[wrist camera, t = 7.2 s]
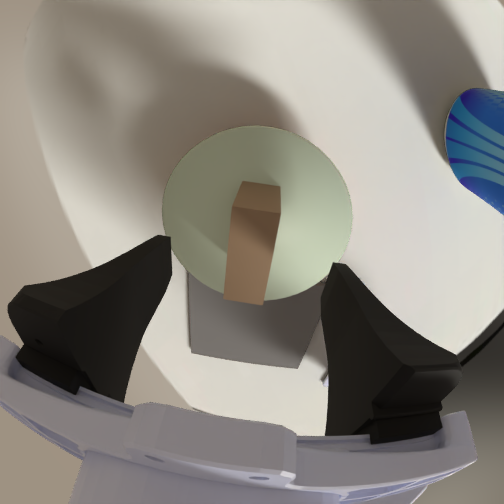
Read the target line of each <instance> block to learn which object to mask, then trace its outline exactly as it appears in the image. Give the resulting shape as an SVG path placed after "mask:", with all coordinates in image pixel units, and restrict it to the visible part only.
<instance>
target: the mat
mask: <svg viewBox="0 0 504 504" xmlns="http://www.w3.org/2000/svg"><path fill="white" fill-rule="evenodd" d="M324 286H325V283H320V282H318V283H317V284H315V285H314V286H312V287H310V288H309V289H307V290H305V291H302V292H300V293H298V294H295V295H292V296H289V297H286V298H281V299H276V300H264V302H263V305H257V304H251V303H244V302H238V301H232V300H225V299H223V296H224V294H223V293H220V292H218V291H216V290H213V289H212V288H210V287H208V286H206V285H205V284H203V283H202V282H200V281H199V280H198V279H196V278H195V277H194V276H193V275H192V274H191V273H189V314H190V337H191V353H194V354H199V355H204V356H209V357H215V358H221V359H226V360H232V361H239V362H245V363H252V364H260V365H268V366H276V367H285V368H295V369H298V367H299V365H300V363H301V361H302V358H303V356H304V354H305V352H306V349H307V347H308V345H309V342H310V340H311V338H312V335H313V333H314V331H315V328H316V326H317V323H318V321H319V318H320V316H321V298H320V297H321V295H322V292H323V289H324Z"/></svg>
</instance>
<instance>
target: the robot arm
mask: <svg viewBox="0 0 504 504" xmlns="http://www.w3.org/2000/svg"><path fill="white" fill-rule="evenodd" d="M171 276H172V258H171V237H169V236H163V235H157V236H155V237H153V238H151V239H149V240H147V241H145V242H144V243H142V244H140V245H138V246H137V247H135V248H133V249H131V250H130V251H128V252H126V253H124V254H122V255H120V256H118V257H116V258H115V259H113V260H111V261H109V262H107V263H105V264H102V265H100V266H98V267H95V268H93V269H91V270H88V271H85V272H82V273H79V274H77V275H73V276H70V277H67V278H63V279H60V280H55V281H51V282H46V283H40V284H33V285H26V286H24V287H23V288H22V289H21V290H20V291H19V292H18V294H17V295H16V296H15V297H14V298H13V300H12V301H11V302H10V303H9V304H8V314H9V318H10V319H11V322H12V324H13V326H14V327H15V329H16V331H17V333H18V334H19V336H20V338H21V340H22V341H23V343H24V345H23V347H22V348H21V349H20V348H19V347H18V346H17V345H16V344H15V343H13V342H11V341H10V340H8V339H7V338H5V337H3V336H0V406H1V407H2V408H3V409H5V410H6V411H7V412H8V413H10V414H11V415H12V416H14V417H15V418H16V419H18V420H19V421H20V422H22V423H23V424H25V425H26V426H27V427H29V428H30V429H32V430H33V431H34V432H36V433H37V434H39V435H40V436H42V437H44V438H45V439H47V440H48V441H50V442H51V443H53V444H55V445H56V446H58V447H60V448H61V449H63V450H65V451H66V452H68V453H70V454H72V455H74V456H76V457H77V458H79V459H81V460H83V462H82V465H81V467H80V470H79V473H78V476H77V479H76V482H75V485H74V488H73V491H72V495H71V497H70V501H69V504H412V503H413V502H414V501H415V500H416V499H417V498H418V497H419V496H420V495H421V494H422V493H423V492H424V491H425V490H426V488H427V485H428V484H431V483H434V482H436V481H439V480H441V479H443V478H445V477H447V476H449V475H451V474H453V473H455V472H457V471H459V470H461V469H463V468H465V467H467V466H468V465H470V464H471V463H474V462H475V461H477V459H478V457H477V452H476V448H475V445H474V440H473V436H472V433H471V429H470V425H469V422H468V418H467V415H466V412H465V411H460V412H456V413H452V414H448V415H445V416H443V417H441V418H440V415H439V411H441V410H442V404H441V401H442V400H443V399H444V398H445V397H446V396H447V395H448V394H449V393H450V392H451V391H452V390H453V389H454V388H455V387H456V386H457V385H458V383H459V381H460V380H461V378H462V375H463V370H462V368H461V365H460V363H459V360H458V358H457V356H456V354H454V353H452V352H450V351H448V350H446V349H444V348H442V347H440V346H438V345H436V344H434V343H432V342H431V341H429V340H428V339H426V338H424V337H423V336H421V335H420V334H418V333H417V332H415V331H414V330H413V329H411V328H410V327H409V326H407V325H406V324H405V323H403V322H402V321H401V320H400V319H398V318H397V317H396V316H395V315H394V314H393V313H392V312H390V311H389V310H388V309H387V308H386V307H385V306H384V305H383V304H382V303H381V302H380V301H379V300H378V299H377V298H376V297H375V296H374V295H373V294H372V292H371V291H370V290H369V289H368V288H367V287H366V286H365V285H364V284H363V282H362V281H361V280H360V279H359V278H358V277H357V276H356V275H355V273H354V272H353V271H352V270H351V269H350V268H349V267H348V266H347V265H346V264H341V263H335V262H333V263H332V266H331V269H330V272H329V275H328V278H327V281H326V283H325V286H324V289H323V292H322V295H321V297H320V298H321V320H322V326H323V332H324V339H325V345H326V351H327V359H328V375H327V377H326V378H325V380H324V381H323V386H324V387H328V408H327V422H326V431H325V436H297V434H296V433H294V432H293V431H292V430H290V429H288V428H286V427H284V426H282V425H276V424H271V423H266V422H259V421H250V420H243V419H236V418H229V417H223V416H217V415H211V414H206V413H201V412H196V411H192V410H187V409H183V408H178V407H174V406H170V405H165V404H158V403H153V402H149V403H143V404H139V405H136V406H135V407H134V406H131V405H128V404H125V403H124V399H125V394H126V390H127V386H128V381H129V378H130V374H131V370H132V367H133V364H134V361H135V358H136V354H137V351H138V349H139V346H140V343H141V340H142V337H143V335H144V333H145V330H146V328H147V326H148V324H149V322H150V320H151V319H152V317H153V315H154V313H155V311H156V309H157V307H158V305H159V304H160V302H161V300H162V298H163V296H164V294H165V292H166V290H167V287H168V284H169V282H170V279H171Z"/></svg>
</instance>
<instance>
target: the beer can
mask: <svg viewBox="0 0 504 504" xmlns="http://www.w3.org/2000/svg"><path fill="white" fill-rule="evenodd" d="M444 140H445V147H446V152H447V157H448V160H449V164H450V166H451V169H452V171H453V173H454V175H455V176H456V178H457V179H458V181H459V182H460V183H461V184H462V185H463V186H464V187H466V188H467V189H468V190H470V191H471V192H473V193H474V194H476V195H477V196H479V197H480V198H481V199H483V200H484V201H485V202H487V203H488V204H490V205H491V206H492V207H494V208H495V209H496V210H498V211H499V212H500V213H501V214H503V215H504V91H497V90H490V89H481V88H473V89H469V90H467V91H465V92H463V93H462V94H461V95H460V96H459V97H458V98H457V99H456V100H455V102H454V103H453V105H452V107H451V109H450V111H449V113H448V116H447V119H446V123H445V130H444Z"/></svg>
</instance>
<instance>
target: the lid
mask: <svg viewBox="0 0 504 504" xmlns="http://www.w3.org/2000/svg"><path fill="white" fill-rule="evenodd" d="M162 217H163V225H164V230H165V234H166V236H169V237H171V249H172V250H173V252H174V254H175V256H176V257H177V259H178V260H179V261H180V263H181V264H182V265H183V266H184V267H185V268H186V270H187V271H188V272H189V273H191V274H192V275H193V276H194V277H195V278H196V279H198V280H199V281H200V282H202V283H203V284H205V285H206V286H208V287H210V288H212V289H213V290H216V291H218V292H220V293H223V294H224V296H223V299H225V300H232V301H238V302H244V303H251V304H257V305H263V302H264V300H276V299H281V298H286V297H289V296H292V295H295V294H298V293H300V292H302V291H305V290H307V289H309V288H310V287H312V286H314V285H315V284H317V283H318V282H319V281H321V280H322V279H323V278H324V277H325V276H326V275H328V274H329V272H330V269H331V266H332V263H333V262H335V263H338V262H339V260H340V258H341V257H342V255H343V253H344V251H345V249H346V247H347V244H348V242H349V238H350V234H351V229H352V219H353V218H352V204H351V199H350V195H349V192H348V189H347V186H346V183H345V182H344V180H343V178H342V176H341V174H340V172H339V171H338V169H337V168H336V167H335V165H334V164H333V163H332V161H331V160H330V159H329V158H328V157H327V156H326V155H325V154H324V153H323V152H322V151H321V150H320V149H319V148H318V147H316V146H315V145H314V144H312V143H311V142H309V141H308V140H306V139H304V138H302V137H301V136H299V135H297V134H294V133H291V132H289V131H286V130H283V129H279V128H274V127H269V126H242V127H237V128H232V129H228V130H225V131H222V132H219V133H217V134H215V135H213V136H211V137H209V138H207V139H205V140H203V141H202V142H200V143H199V144H198V145H196V146H195V147H194V148H192V149H191V150H190V151H189V152H188V153H187V154H186V155H185V156H184V157H183V158H182V159H181V160H180V162H179V163H178V164H177V166H176V167H175V168H174V170H173V172H172V174H171V176H170V178H169V180H168V183H167V186H166V188H165V192H164V197H163V205H162Z"/></svg>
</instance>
